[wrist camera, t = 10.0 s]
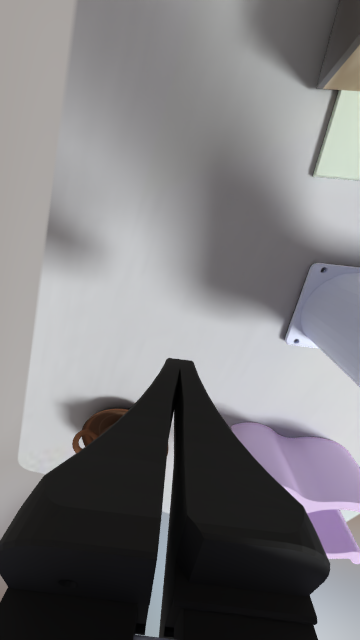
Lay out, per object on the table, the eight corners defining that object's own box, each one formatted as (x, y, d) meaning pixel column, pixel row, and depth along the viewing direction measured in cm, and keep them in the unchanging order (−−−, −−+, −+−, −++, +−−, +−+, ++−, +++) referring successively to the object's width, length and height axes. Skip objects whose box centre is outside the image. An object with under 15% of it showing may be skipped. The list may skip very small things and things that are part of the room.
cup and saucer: (86, 446, 31) (61, 494, 25) (91, 390, 26) (60, 433, 20) (161, 465, 31) (152, 517, 25) (179, 413, 26) (173, 462, 20)
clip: (202, 457, 29) (203, 519, 23) (250, 403, 24) (267, 462, 18) (315, 502, 31) (344, 570, 25) (380, 460, 26) (438, 533, 20)
